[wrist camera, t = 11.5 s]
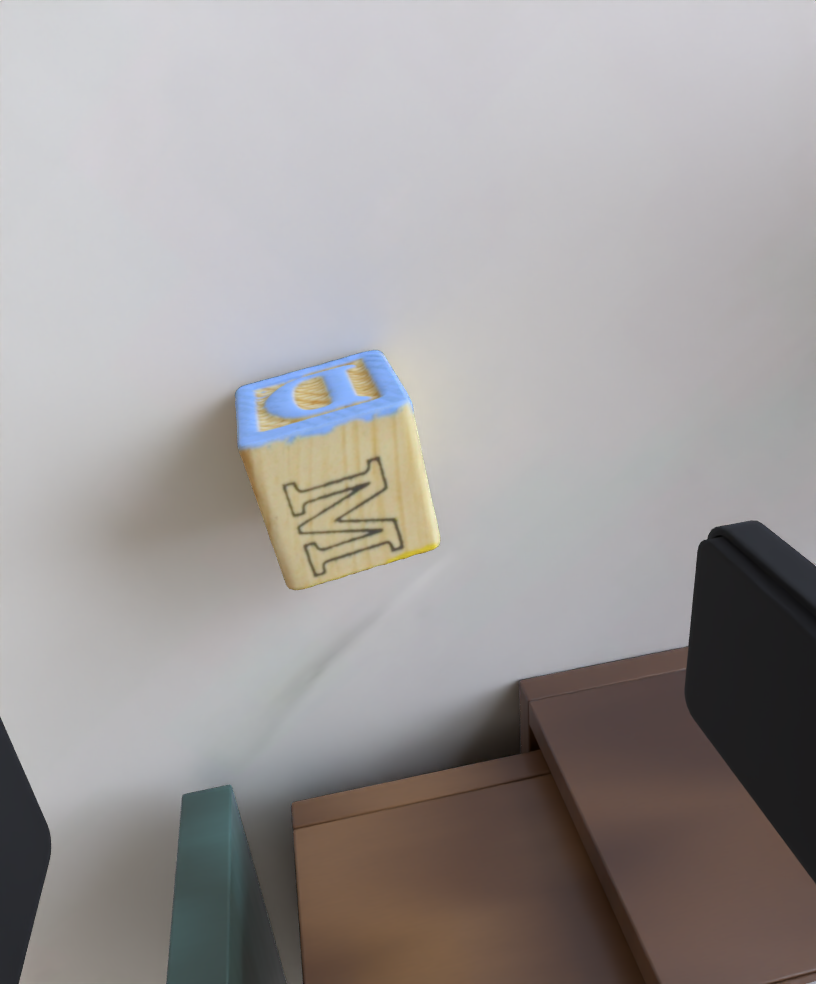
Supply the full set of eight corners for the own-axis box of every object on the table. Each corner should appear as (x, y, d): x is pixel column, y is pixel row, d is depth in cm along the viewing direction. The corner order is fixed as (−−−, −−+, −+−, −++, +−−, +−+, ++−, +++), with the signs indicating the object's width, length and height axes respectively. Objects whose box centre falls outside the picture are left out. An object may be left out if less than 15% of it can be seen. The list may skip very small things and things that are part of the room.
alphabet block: (383, 344, 15) (413, 399, 13) (414, 479, 17) (446, 552, 14) (233, 383, 15) (231, 447, 13) (278, 516, 17) (284, 597, 14)
